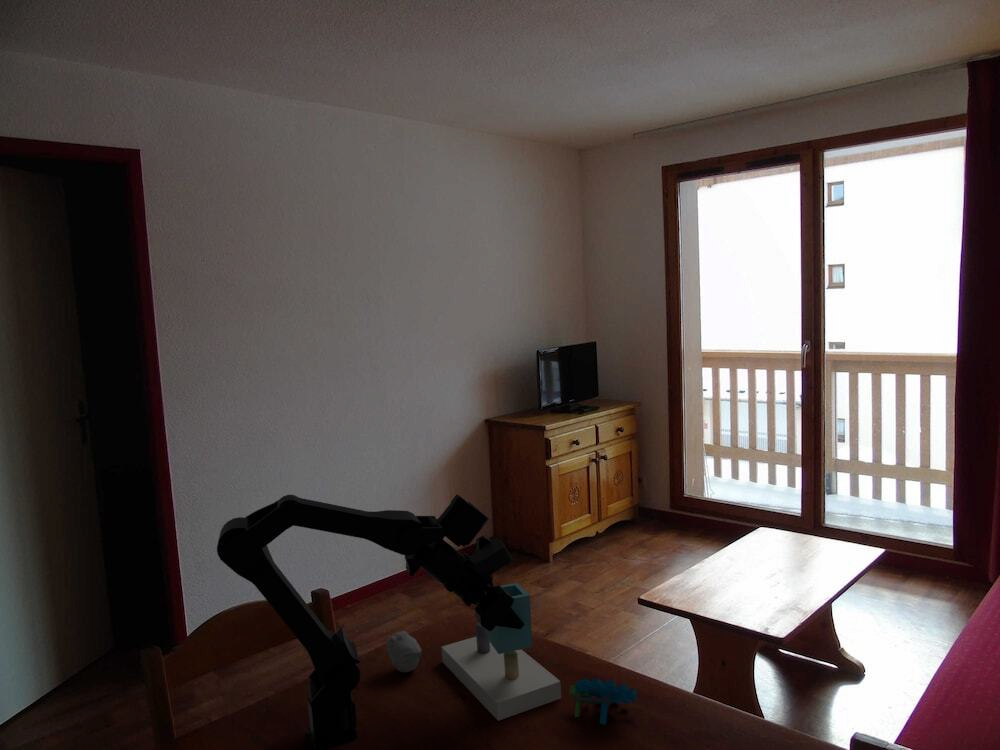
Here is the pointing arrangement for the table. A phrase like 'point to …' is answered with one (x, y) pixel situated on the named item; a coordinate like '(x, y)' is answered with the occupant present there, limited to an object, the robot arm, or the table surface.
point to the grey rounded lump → (403, 651)
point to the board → (500, 676)
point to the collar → (511, 637)
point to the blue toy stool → (600, 695)
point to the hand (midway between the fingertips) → (516, 619)
